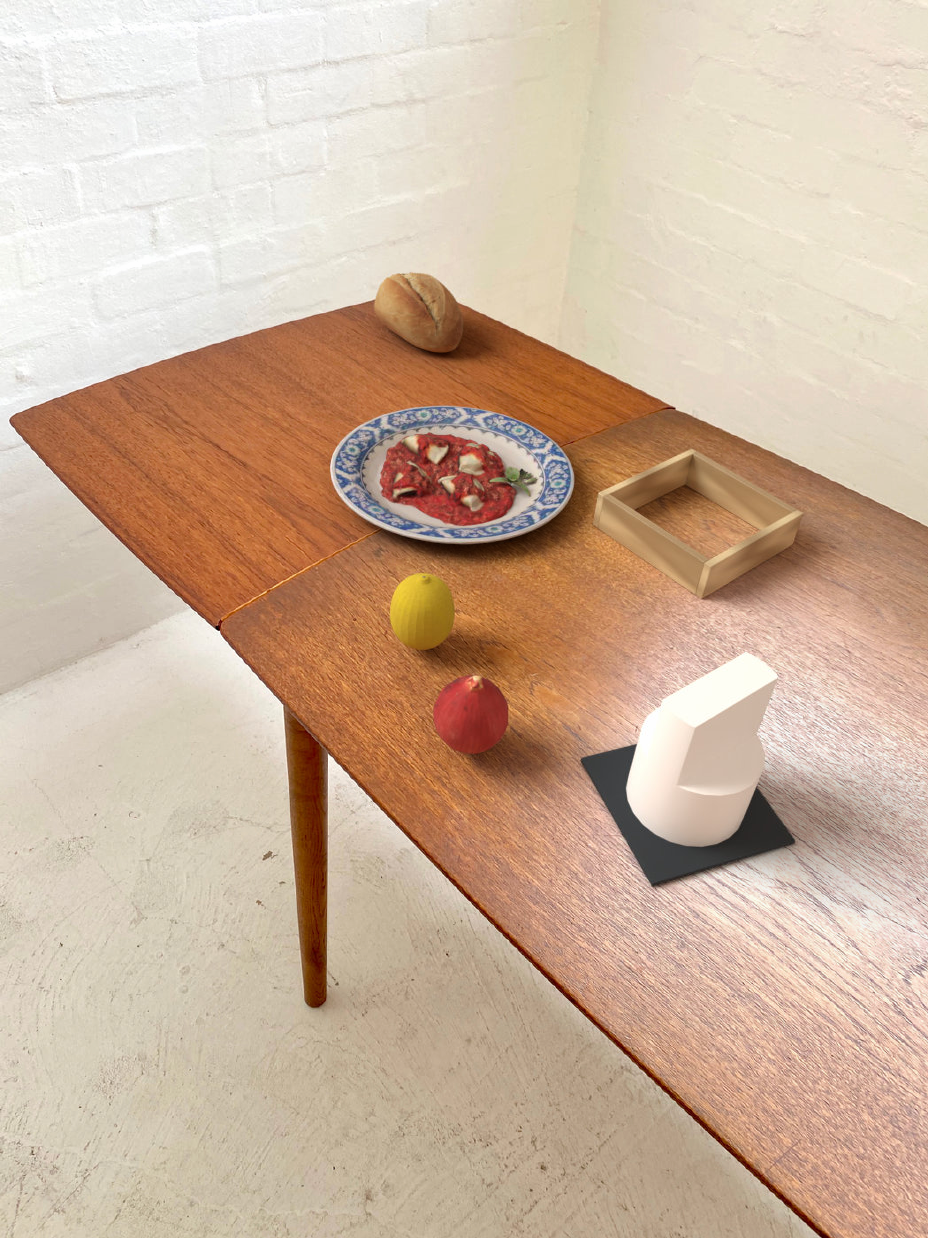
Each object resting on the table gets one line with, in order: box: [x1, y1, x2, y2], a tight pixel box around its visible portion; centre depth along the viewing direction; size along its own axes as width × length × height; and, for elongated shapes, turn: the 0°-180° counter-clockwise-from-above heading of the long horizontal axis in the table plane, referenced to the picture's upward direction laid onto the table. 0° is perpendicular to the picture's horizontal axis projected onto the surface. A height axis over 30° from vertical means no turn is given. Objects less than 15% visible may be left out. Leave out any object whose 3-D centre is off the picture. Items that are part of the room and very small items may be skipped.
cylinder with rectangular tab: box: [626, 651, 780, 847], centre depth 71 cm, size 9×9×12 cm
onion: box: [432, 674, 509, 755], centre depth 75 cm, size 6×6×8 cm
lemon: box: [389, 572, 456, 651], centre depth 83 cm, size 6×6×8 cm
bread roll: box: [373, 271, 464, 353], centre depth 128 cm, size 10×15×8 cm, turn 37°
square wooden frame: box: [592, 448, 804, 600], centre depth 100 cm, size 15×15×4 cm
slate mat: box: [580, 743, 796, 887], centre depth 75 cm, size 12×12×1 cm
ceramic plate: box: [329, 405, 575, 545], centre depth 104 cm, size 26×26×3 cm
